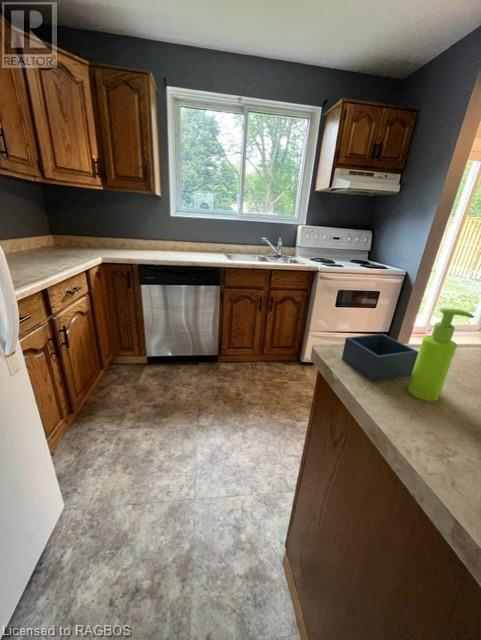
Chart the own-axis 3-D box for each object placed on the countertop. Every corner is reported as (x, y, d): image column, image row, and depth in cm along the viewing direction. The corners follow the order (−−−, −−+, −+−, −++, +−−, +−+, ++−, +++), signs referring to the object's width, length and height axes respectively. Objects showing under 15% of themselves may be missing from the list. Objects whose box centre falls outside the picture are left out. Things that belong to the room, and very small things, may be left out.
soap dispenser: (447, 405, 58) (480, 317, 51) (410, 397, 60) (437, 311, 53) (439, 390, 63) (467, 308, 56) (405, 383, 65) (429, 304, 58)
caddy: (377, 354, 80) (382, 333, 77) (411, 374, 69) (418, 351, 67) (341, 359, 76) (345, 337, 73) (372, 381, 65) (378, 357, 63)
